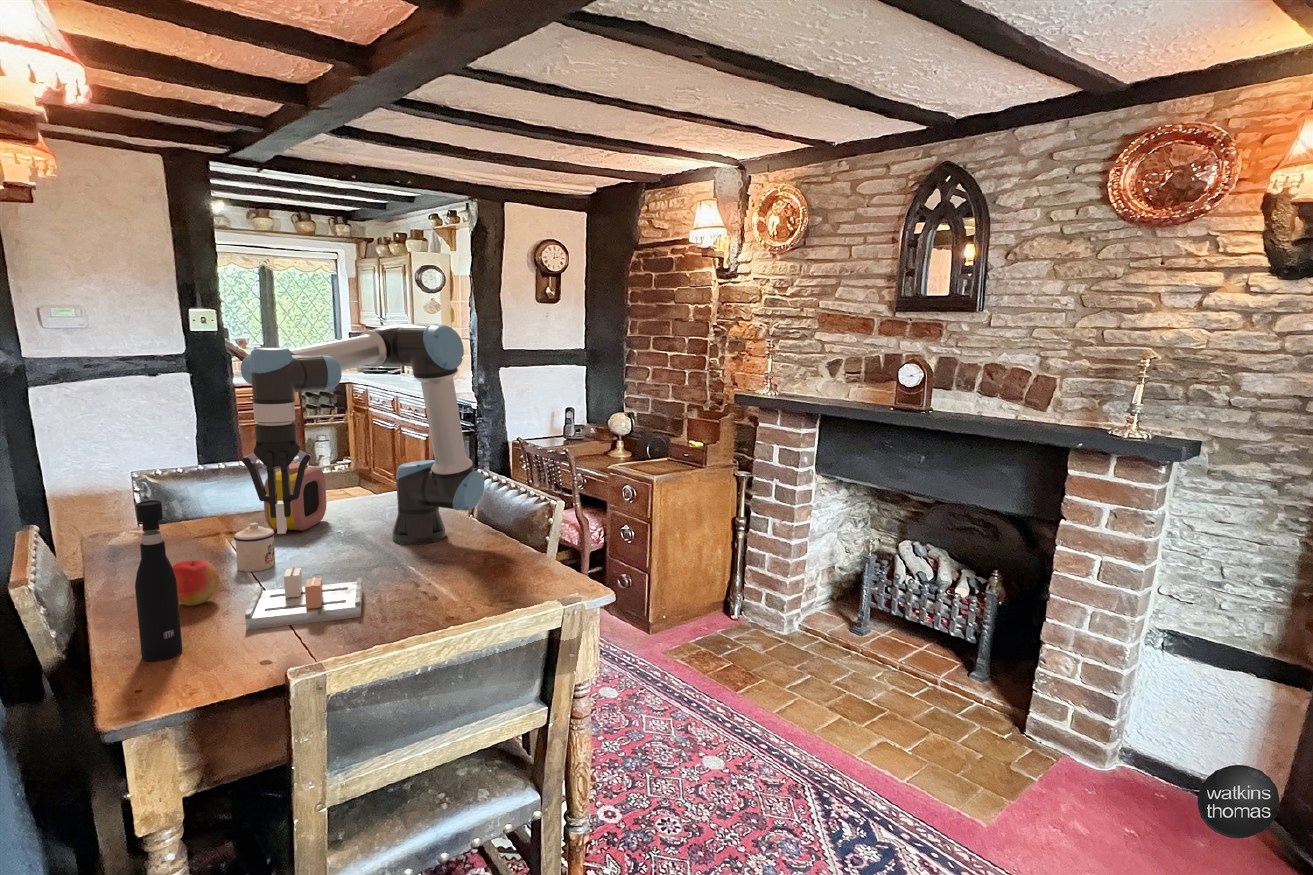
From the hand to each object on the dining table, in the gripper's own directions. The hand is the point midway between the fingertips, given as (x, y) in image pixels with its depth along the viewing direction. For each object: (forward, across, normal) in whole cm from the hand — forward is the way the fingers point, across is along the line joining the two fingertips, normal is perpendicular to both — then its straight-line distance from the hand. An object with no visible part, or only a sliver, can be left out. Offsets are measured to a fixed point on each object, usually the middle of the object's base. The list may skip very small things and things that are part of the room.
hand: (282, 531), depth 149 cm
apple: (+20, +20, -14) cm, 32 cm away
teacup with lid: (+20, +11, -38) cm, 45 cm away
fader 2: (+17, -6, 0) cm, 18 cm away
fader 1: (+17, -1, -8) cm, 18 cm away
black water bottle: (+20, +20, +12) cm, 30 cm away
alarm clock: (+20, +5, -74) cm, 76 cm away
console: (+19, -4, -4) cm, 20 cm away
